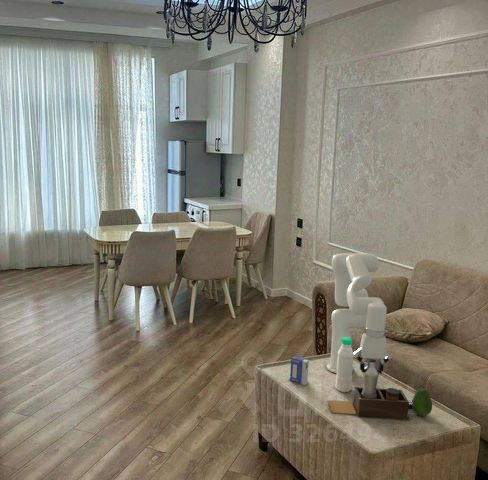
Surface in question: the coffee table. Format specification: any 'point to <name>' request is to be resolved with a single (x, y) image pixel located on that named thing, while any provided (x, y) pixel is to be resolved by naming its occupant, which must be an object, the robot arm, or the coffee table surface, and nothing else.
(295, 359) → the walkman
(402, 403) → the brown divided box
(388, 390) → the spice jar
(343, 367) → the water bottle
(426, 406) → the fruit
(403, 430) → the coffee table surface
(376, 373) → the metal flask
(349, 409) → the cork mat
